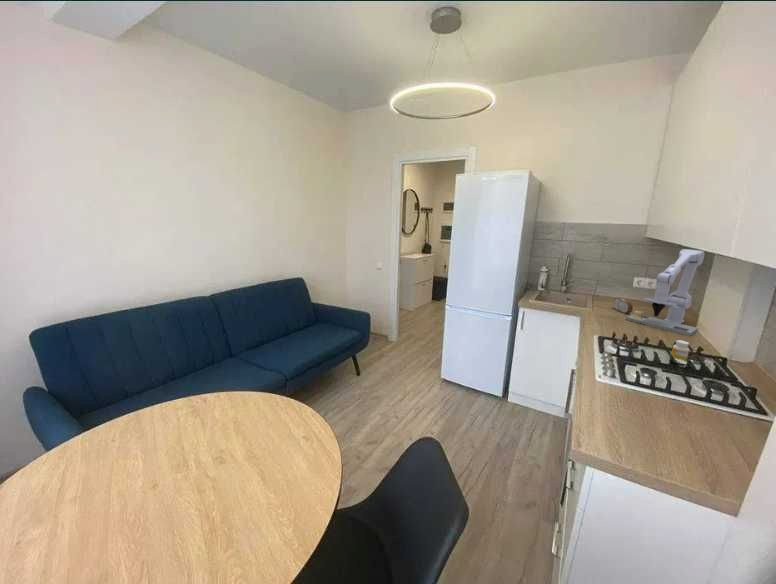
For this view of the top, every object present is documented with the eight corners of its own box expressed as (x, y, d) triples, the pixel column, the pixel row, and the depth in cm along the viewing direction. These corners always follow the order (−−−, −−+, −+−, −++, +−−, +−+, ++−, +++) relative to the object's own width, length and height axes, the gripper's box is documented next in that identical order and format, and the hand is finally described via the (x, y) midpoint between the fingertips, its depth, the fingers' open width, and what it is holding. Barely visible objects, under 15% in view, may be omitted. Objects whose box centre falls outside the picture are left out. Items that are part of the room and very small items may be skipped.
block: (634, 316, 196) (636, 310, 195) (642, 318, 193) (644, 312, 192) (632, 317, 194) (633, 311, 193) (640, 319, 191) (641, 313, 190)
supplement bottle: (670, 358, 144) (675, 338, 142) (686, 362, 140) (692, 342, 138) (668, 361, 141) (673, 341, 138) (684, 366, 137) (690, 345, 134)
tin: (631, 315, 206) (634, 302, 204) (626, 315, 206) (629, 302, 204) (616, 308, 221) (618, 296, 219) (611, 308, 221) (613, 296, 219)
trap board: (634, 316, 204) (634, 313, 203) (697, 331, 180) (698, 328, 180) (625, 320, 196) (626, 317, 195) (690, 336, 172) (691, 332, 172)
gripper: (643, 291, 186) (638, 313, 190) (675, 297, 175) (669, 320, 178) (648, 290, 190) (643, 311, 194) (679, 295, 179) (673, 318, 182)
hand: (656, 316), depth 186 cm, fingers closed
